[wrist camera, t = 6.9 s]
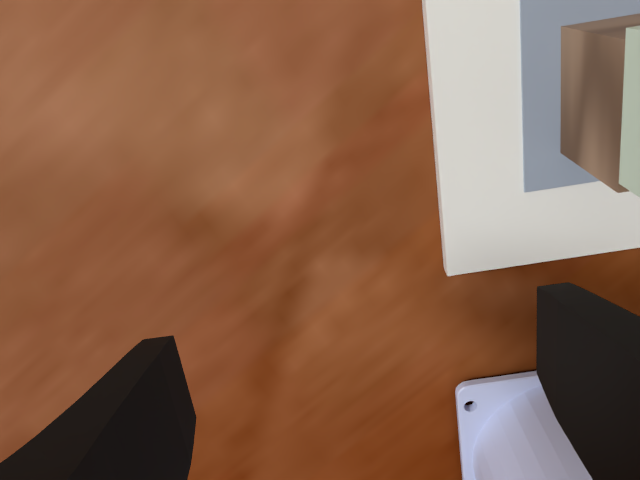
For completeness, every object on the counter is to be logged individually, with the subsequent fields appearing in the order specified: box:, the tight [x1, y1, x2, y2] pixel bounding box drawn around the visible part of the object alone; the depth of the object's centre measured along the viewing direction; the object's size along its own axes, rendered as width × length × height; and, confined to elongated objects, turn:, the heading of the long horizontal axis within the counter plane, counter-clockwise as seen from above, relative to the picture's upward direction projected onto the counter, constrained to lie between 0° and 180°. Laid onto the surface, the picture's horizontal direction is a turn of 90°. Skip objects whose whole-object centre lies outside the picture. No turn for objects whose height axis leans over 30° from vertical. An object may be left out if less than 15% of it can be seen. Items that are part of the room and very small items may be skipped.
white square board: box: [422, 0, 640, 276], centre depth 19 cm, size 12×12×1 cm
